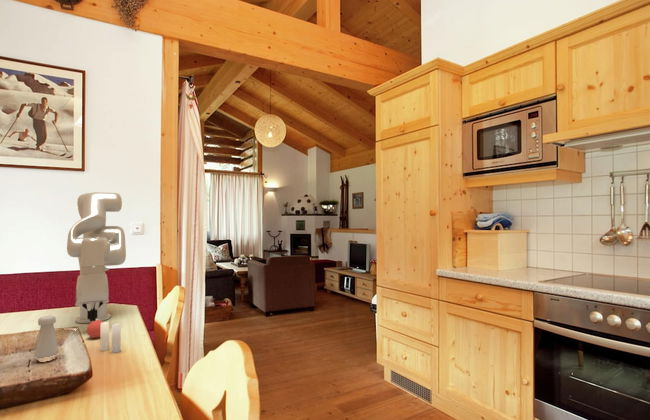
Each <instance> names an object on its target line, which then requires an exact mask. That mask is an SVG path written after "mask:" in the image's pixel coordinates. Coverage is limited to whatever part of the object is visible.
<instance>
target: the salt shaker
mask: <svg viewBox="0 0 650 420" xmlns="http://www.w3.org/2000/svg"><path fill="white" fill-rule="evenodd" d="M55 323H57V319H56V316H55V315H52V314H51V315H49V314H48V315H43V316H40V317H39V318H38V320H37V324H38V326H40V328H39V332H38V337H37V341H36V345H35V350H34V357H37V358H44V357H50V356H53V355H56V354H57V353H58V354H59V346H58V341H57V336H56V332H55V331H56V330H55V326H54V324H55ZM58 354H57V355H58Z"/></svg>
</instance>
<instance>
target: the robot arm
mask: <svg viewBox="0 0 650 420" xmlns="http://www.w3.org/2000/svg"><path fill="white" fill-rule="evenodd" d="M122 200H123V199H122V197H121V195H120V194H119V193H118V192H97V191H96V192H87V193H83V194H81V195H79V196H78V198H77V204H76V205H77V211H78V214H79V216H80V219H79V220H77V222H75V224H73V225H72V227H71V228H70V229H69V231H68V234H67V243H66V251H67V254H68V256H70V258H71V257H72V258H77V260H78V265H79V275H78V276H77V279H76V280H77V281H76V288H75V300H76V301H75V303H74V306H75V307H79V316H77V317H76V318H75V323H77V324H90V323H91V322H93V321H96V320H100V321H103V322H105V321H106V320H110V318H111V317H112V316H111V313H108V312H107V304H108V303H109V302H110V299H109V297H110V296H109V295H110V294H109V292H110V291H109V281H108V280H109V279H108V275H107V273H106V272H107V271H109V270H110V269H109V268H110V266H120V265H123V263H125V261H126V258H127V254H126V253H127V251H126V250H127V249H126V237H125V236H126V235H125V231H124V229H123V227H121V226H117V225H106V224H107V212H109V213H112V212H113V213H114V212H116V213H118V212H120V211H121V210H122V206H123V201H122ZM80 236H82V237H80Z"/></svg>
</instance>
